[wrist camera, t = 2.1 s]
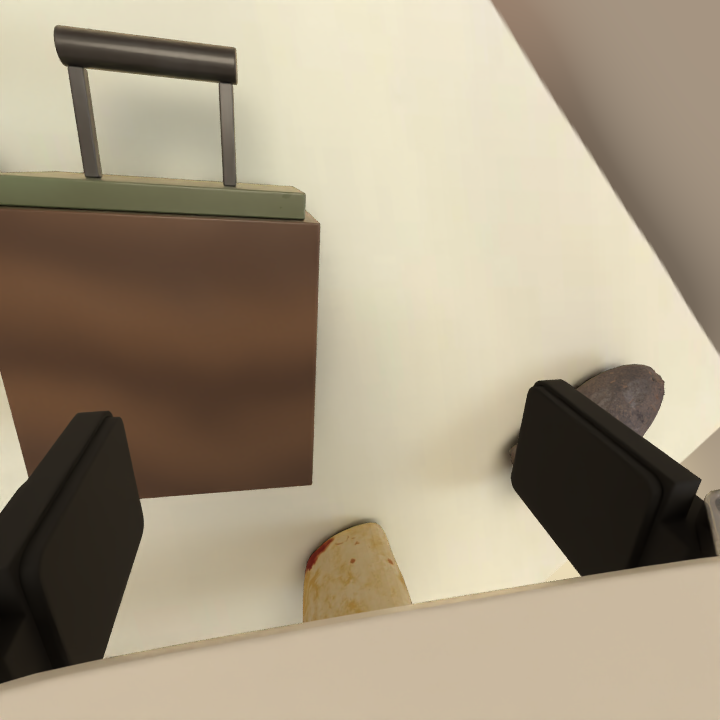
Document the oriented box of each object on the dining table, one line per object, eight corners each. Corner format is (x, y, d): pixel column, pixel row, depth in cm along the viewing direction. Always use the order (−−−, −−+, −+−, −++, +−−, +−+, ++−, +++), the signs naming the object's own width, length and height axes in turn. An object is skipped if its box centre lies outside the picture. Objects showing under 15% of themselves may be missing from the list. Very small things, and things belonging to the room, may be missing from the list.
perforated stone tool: (613, 336, 37) (684, 371, 31) (639, 374, 40) (710, 413, 33) (479, 454, 39) (521, 509, 33) (510, 484, 42) (555, 540, 35)
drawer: (31, 45, 22) (-65, -6, 15) (295, 76, 25) (308, 43, 18) (94, 393, 29) (47, 458, 23) (292, 387, 32) (301, 443, 26)
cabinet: (52, 193, 25) (-45, 206, 17) (302, 206, 28) (320, 223, 20) (94, 417, 31) (35, 507, 23) (299, 408, 34) (312, 485, 26)
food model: (355, 496, 38) (440, 786, 20) (403, 532, 41) (514, 815, 23) (275, 566, 40) (290, 898, 22) (327, 597, 42) (378, 912, 25)
